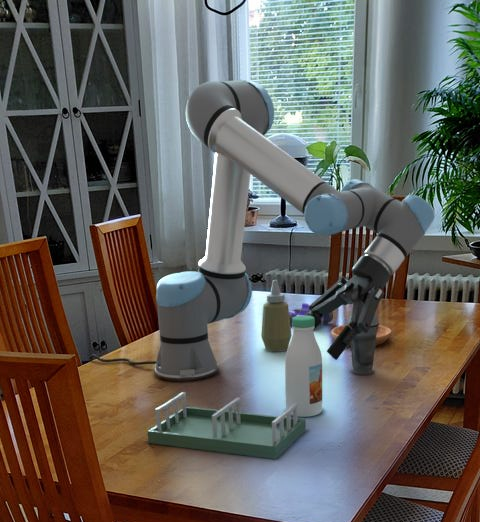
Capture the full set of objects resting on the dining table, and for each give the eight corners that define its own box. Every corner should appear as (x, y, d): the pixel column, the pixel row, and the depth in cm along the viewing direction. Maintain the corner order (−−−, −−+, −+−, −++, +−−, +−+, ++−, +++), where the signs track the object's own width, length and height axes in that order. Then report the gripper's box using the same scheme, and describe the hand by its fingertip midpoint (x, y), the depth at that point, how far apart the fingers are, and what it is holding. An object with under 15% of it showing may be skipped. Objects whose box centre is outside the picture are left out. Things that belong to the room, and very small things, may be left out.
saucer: (394, 347, 228) (395, 336, 226) (333, 349, 228) (334, 338, 227) (386, 332, 242) (387, 322, 241) (329, 335, 243) (329, 324, 241)
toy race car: (290, 318, 262) (290, 296, 260) (333, 323, 254) (333, 301, 252) (272, 325, 256) (272, 303, 253) (316, 330, 247) (316, 307, 245)
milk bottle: (297, 420, 179) (296, 323, 171) (279, 410, 186) (277, 316, 177) (329, 413, 182) (329, 318, 174) (310, 403, 189) (309, 311, 180)
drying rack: (148, 443, 171) (145, 412, 168) (186, 417, 184) (183, 388, 181) (275, 459, 160) (274, 426, 157) (305, 431, 173) (305, 400, 170)
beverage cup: (376, 376, 205) (379, 290, 196) (345, 375, 206) (347, 290, 198) (378, 367, 211) (381, 284, 203) (348, 367, 213) (349, 284, 204)
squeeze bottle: (297, 347, 232) (296, 278, 224) (282, 354, 226) (280, 284, 218) (271, 344, 236) (269, 276, 228) (255, 351, 230) (253, 282, 222)
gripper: (424, 286, 170) (358, 373, 171) (354, 269, 191) (296, 346, 191) (402, 261, 166) (335, 350, 167) (334, 246, 186) (274, 325, 187)
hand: (314, 348), depth 179 cm, fingers open, 13 cm apart
